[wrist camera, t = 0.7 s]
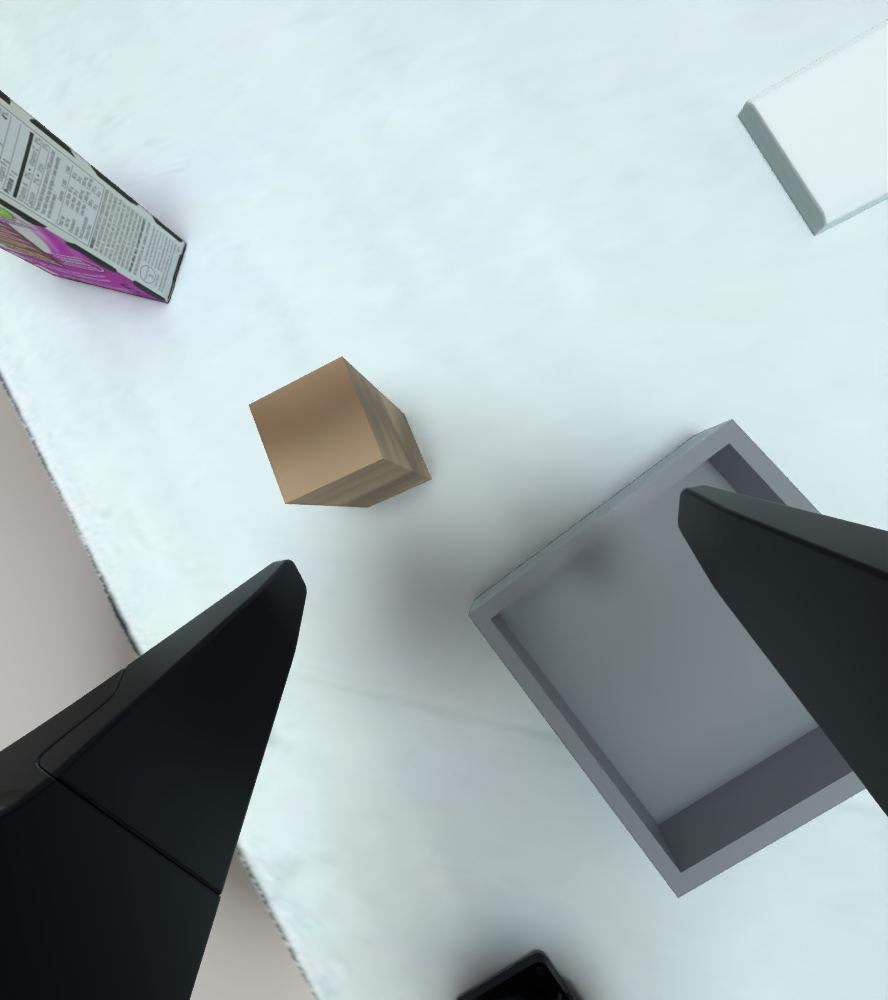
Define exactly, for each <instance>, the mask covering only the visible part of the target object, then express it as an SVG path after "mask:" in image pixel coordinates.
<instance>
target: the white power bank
mask: <svg viewBox="0 0 888 1000" xmlns="http://www.w3.org/2000/svg"><path fill="white" fill-rule="evenodd" d="M738 117H739V119H740V120H741V122H742V123H743V125H744V126H745V128H746V129H747V131H748V133H749V134H750V136H751V137H752V139H753V140H754V142H755V143H756V145H757V147H758V148H759V150H760V151H761V153H762V155H763V156H764V158H765V159H766V161H767V162H768V164H769V165H770V167H771V169H772V170H773V172H774V173H775V175H776V177H777V178H778V180H779V181H780V183H781V184H782V186H783V187H784V189H785V191H786V192H787V194H788V195H789V197H790V199H791V200H792V202H793V203H794V205H795V206H796V208H797V210H798V211H799V213H800V214H801V216H802V217H803V219H804V221H805V222H806V224H807V225H808V227H809V229H810V230H811V232H812V233H813V235H814V236H816V235H818V234H820V233H822V232H824V231H826V230H828V229H829V228H831V227H833V226H835V225H837V224H839V223H841V222H843V221H845V220H847V219H849V218H851V217H853V216H855V215H856V214H858V213H860V212H862V211H864V210H866V209H868V208H870V207H872V206H874V205H876V204H878V203H879V202H881V201H883V200H885V199H887V198H888V19H887V20H885V21H884V22H882V23H880V24H879V25H877V26H875V27H873V28H872V29H870V30H868V31H867V32H865V33H863V34H861V35H860V36H858V37H856V38H854V39H853V40H851V41H849V42H848V43H846V44H844V45H842V46H841V47H839V48H837V49H835V50H834V51H832V52H830V53H828V54H827V55H825V56H823V57H821V58H820V59H818V60H816V61H814V62H813V63H811V64H809V65H808V66H806V67H804V68H802V69H801V70H799V71H797V72H796V73H794V74H792V75H790V76H789V77H787V78H785V79H784V80H782V81H780V82H779V83H777V84H775V85H773V86H772V87H770V88H768V89H767V90H765V91H763V92H761V93H760V94H758V95H756V96H755V97H753V98H751V99H750V100H748V101H747V102H746V103H745V105H744V107H743V109H742V110H741V112H740V114H739V115H738Z"/></svg>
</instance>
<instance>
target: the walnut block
mask: <svg viewBox="0 0 888 1000" xmlns="http://www.w3.org/2000/svg"><path fill="white" fill-rule="evenodd" d="M249 407H250V410H251V413H252V415H253V418H254V421H255V423H256V426H257V429H258V431H259V434H260V437H261V440H262V442H263V445H264V448H265V450H266V453H267V456H268V458H269V461H270V464H271V467H272V469H273V472H274V475H275V477H276V480H277V483H278V485H279V488H280V491H281V494H282V496H283V499H284V502H285V504H301V505H324V506H348V507H370V506H372V505H374V504H377V503H379V502H381V501H383V500H386V499H388V498H390V497H392V496H395V495H397V494H399V493H401V492H404V491H406V490H408V489H410V488H412V487H415V486H417V485H419V484H421V483H424V482H426V481H428V480H430V479H431V477H430V475H429V472H428V470H427V467H426V465H425V463H424V460H423V458H422V455H421V453H420V451H419V448H418V446H417V443H416V441H415V439H414V436H413V434H412V431H411V429H410V427H409V424H408V422H407V419H406V417H405V415H404V414H403V413H402V412H401V411H400V410H399V409H398V408H397V407H396V406H395V405H394V404H393V403H392V402H391V401H389V400H388V399H387V398H386V397H385V396H384V395H383V394H382V393H381V392H380V391H379V390H378V389H377V388H375V387H374V386H373V385H372V384H371V383H370V382H369V381H368V380H367V379H366V378H365V377H364V376H363V375H361V374H360V373H359V372H358V371H357V370H356V369H355V368H354V367H353V366H352V365H351V364H350V363H349V362H347V361H346V360H345V359H344V358H343V357H340V358H338V359H336V360H334V361H332V362H330V363H328V364H326V365H325V366H323V367H321V368H319V369H317V370H315V371H313V372H311V373H309V374H307V375H305V376H303V377H301V378H300V379H298V380H296V381H294V382H292V383H290V384H288V385H286V386H284V387H282V388H280V389H278V390H276V391H274V392H273V393H271V394H269V395H267V396H265V397H263V398H261V399H259V400H257V401H255V402H253V403H251V404H249Z"/></svg>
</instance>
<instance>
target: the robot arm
mask: <svg viewBox="0 0 888 1000" xmlns="http://www.w3.org/2000/svg"><path fill="white" fill-rule="evenodd" d="M678 527H679V529H680V532H681V533H682V535H683V537H684V538H685V540H686V542H687V543H688V545H689V547H690V549H691V550H692V552H693V554H694V555H695V557H696V559H697V560H698V562H699V564H700V565H701V567H702V569H703V571H704V572H705V574H706V576H707V577H708V579H709V580H710V582H711V584H712V585H713V587H714V588H715V590H716V591H717V592H718V594H719V595H720V597H721V598H722V599H723V601H724V602H725V603H726V605H727V606H728V607H729V609H730V610H731V611H732V612H733V614H734V615H735V616H736V618H737V619H738V620H739V622H740V623H741V624H742V626H743V627H744V628H745V630H746V631H747V632H748V634H749V635H750V636H751V637H752V639H753V640H754V641H755V643H756V644H757V645H758V647H759V648H760V649H761V651H762V652H763V653H764V655H765V656H766V657H767V659H768V660H769V661H770V662H771V664H772V665H773V666H774V668H775V669H776V670H777V672H778V673H779V674H780V676H781V677H782V678H783V680H784V681H785V682H786V684H787V685H788V686H789V687H790V689H791V690H792V691H793V693H794V694H795V695H796V697H797V698H798V699H799V701H800V702H801V703H802V705H803V706H804V707H805V709H806V710H807V711H808V712H809V714H810V715H811V716H812V718H813V719H814V720H815V722H816V723H817V724H818V726H819V727H820V728H821V730H822V731H823V732H824V734H825V735H826V736H827V737H828V739H829V740H830V741H831V743H832V744H833V745H834V747H835V748H836V749H837V751H838V752H839V753H840V755H841V756H842V757H843V759H844V760H845V761H846V762H847V764H848V765H849V766H850V768H851V769H852V770H853V772H854V773H855V774H856V776H857V777H858V778H859V780H860V781H861V782H862V784H863V785H864V786H865V787H866V789H867V790H868V791H869V793H870V794H871V795H872V797H873V798H874V799H875V801H876V802H877V803H878V805H879V806H880V807H881V809H882V810H883V811H884V812H885V814H886V815H887V816H888V531H885V530H881V529H877V528H873V527H869V526H865V525H861V524H857V523H853V522H849V521H845V520H842V519H838V518H834V517H830V516H826V515H822V514H818V513H814V512H810V511H806V510H802V509H798V508H794V507H790V506H786V505H783V504H779V503H775V502H771V501H767V500H763V499H759V498H755V497H751V496H747V495H743V494H739V493H735V492H731V491H727V490H723V489H720V488H716V487H712V486H708V485H697V486H691V487H686V488H684V489H683V490H682V491H681V493H680V498H679V510H678ZM306 594H307V590H306V585H305V583H304V581H303V579H302V577H301V575H300V573H299V571H298V569H297V567H296V566H295V564H294V562H293V561H291V560H282V561H276V562H273V563H271V564H270V565H269V566H267V567H266V568H264V569H263V570H262V571H260V572H259V573H257V574H256V575H254V576H253V577H252V578H250V579H249V580H247V581H246V582H245V583H243V584H242V585H240V586H239V587H237V588H236V589H235V590H233V591H232V592H230V593H229V594H228V595H226V596H225V597H223V598H222V599H221V600H219V601H218V602H216V603H215V604H213V605H212V606H211V607H209V608H208V609H206V610H205V611H204V612H202V613H201V614H199V615H198V616H197V617H195V618H194V619H192V620H191V621H189V622H188V623H187V624H185V625H184V626H182V627H181V628H180V629H178V630H177V631H175V632H174V633H173V634H171V635H170V636H168V637H167V638H165V639H164V640H163V641H161V642H160V643H158V644H157V645H156V646H154V647H153V648H151V649H150V650H149V651H147V652H146V653H144V654H143V655H141V656H140V657H139V658H137V659H136V660H134V661H133V662H132V663H130V664H129V665H128V666H127V667H126V668H124V669H122V670H120V671H119V672H117V673H116V674H114V675H113V676H112V677H110V678H109V679H108V680H106V681H105V682H103V683H102V684H100V685H99V686H97V687H96V688H95V689H93V690H92V691H90V692H89V693H87V694H86V695H84V696H83V697H82V698H80V699H79V700H77V701H76V702H74V703H73V704H72V705H70V706H69V707H67V708H65V709H64V710H63V711H61V712H59V713H58V714H56V715H55V716H54V717H52V718H50V719H49V720H48V721H46V722H44V723H43V724H42V725H40V726H38V727H37V728H36V729H34V730H33V731H31V732H29V733H28V734H26V735H25V736H23V737H22V738H20V739H19V740H17V741H16V742H14V743H13V744H11V745H10V746H8V747H6V748H5V749H3V750H2V751H0V1000H190V997H191V994H192V990H193V987H194V983H195V980H196V977H197V974H198V970H199V967H200V964H201V961H202V957H203V954H204V950H205V947H206V944H207V941H208V938H209V934H210V931H211V928H212V925H213V921H214V918H215V915H216V911H217V908H218V905H219V902H220V898H221V896H220V894H221V893H222V891H223V887H224V884H225V881H226V878H227V874H228V871H229V868H230V864H231V861H232V858H233V855H234V852H235V848H236V845H237V842H238V838H239V835H240V832H241V829H242V825H243V822H244V819H245V815H246V812H247V809H248V806H249V802H250V799H251V796H252V792H253V789H254V786H255V783H256V779H257V776H258V773H259V769H260V766H261V763H262V760H263V756H264V753H265V750H266V746H267V743H268V740H269V737H270V733H271V730H272V727H273V723H274V720H275V717H276V714H277V710H278V707H279V704H280V701H281V697H282V694H283V691H284V687H285V684H286V681H287V678H288V674H289V671H290V668H291V664H292V661H293V657H294V654H295V650H296V646H297V641H298V636H299V631H300V626H301V620H302V615H303V610H304V605H305V600H306ZM539 966H540V967H542V968H539ZM459 1000H577V999H576V998H575V996H574V995H573V994H571V993H570V992H569V990H568V989H567V987H566V986H565V985H564V983H563V982H562V980H561V979H560V977H559V976H558V974H557V973H556V971H555V970H554V968H553V967H552V965H551V964H550V962H549V961H548V959H547V958H546V957H545V956H544V955H542V954H534V955H533V956H531V957H529V958H527V959H526V960H524V961H522V962H521V963H519V964H517V965H516V966H514V967H512V968H511V969H509V970H507V971H506V972H504V973H502V974H501V975H499V976H497V977H496V978H494V979H492V980H491V981H489V982H487V983H485V984H484V985H482V986H480V987H479V988H477V989H475V990H474V991H472V992H470V993H469V994H467V995H465V996H464V997H462V998H460V999H459Z"/></svg>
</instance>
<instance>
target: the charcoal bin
mask: <svg viewBox="0 0 888 1000" xmlns="http://www.w3.org/2000/svg"><path fill="white" fill-rule="evenodd" d="M697 485H708V486H712V487H716V488H720V489H723V490H727V491H731V492H735V493H739V494H743V495H747V496H751V497H755V498H759V499H763V500H767V501H771V502H775V503H779V504H783V505H786V506H790V507H794V508H798V509H802V510H806V511H810V512H814V513H818V514H821V513H820V512H819V511H818V510H817V509H816V508H815V507H814V506H813V505H812V504H811V503H810V502H809V500H808V499H807V498H806V497H805V496H804V495H803V494H802V493H801V492H800V491H799V490H798V489H797V488H796V487H795V486H794V484H793V483H792V482H791V481H790V480H789V479H788V478H787V477H786V476H785V475H784V474H783V473H782V472H781V471H780V470H779V468H778V467H777V466H776V465H775V464H774V463H773V462H772V461H771V460H770V459H769V458H768V457H767V456H766V455H765V453H764V452H763V451H762V450H761V449H760V448H759V447H758V446H757V445H756V444H755V443H754V442H753V441H752V440H751V439H750V437H749V436H748V435H747V434H746V433H745V432H744V431H743V430H742V429H741V428H740V427H739V426H738V425H737V424H736V423H735V421H734V420H733V419H731V420H729V421H726V422H724V423H722V424H719V425H717V426H715V427H712V428H710V429H707V430H705V431H703V432H700V433H698V434H696V435H694V436H693V437H692V438H690V439H689V440H688V441H686V442H685V443H684V444H682V445H681V446H680V447H678V448H677V449H676V450H674V451H673V452H672V453H670V454H669V455H668V456H666V457H665V458H664V459H662V460H661V461H660V462H658V463H657V464H656V465H654V466H653V467H652V468H650V469H649V470H648V471H646V472H645V473H644V474H642V475H641V476H640V477H638V478H637V479H636V480H634V481H633V482H632V483H630V484H629V485H628V486H626V487H625V488H624V489H622V490H621V491H620V492H618V493H617V494H616V495H614V496H613V497H612V498H610V499H609V500H608V501H606V502H605V503H604V504H602V505H601V506H599V507H598V508H597V509H595V510H594V511H593V512H591V513H590V514H589V515H587V516H586V517H585V518H583V519H582V520H581V521H579V522H578V523H577V524H575V525H574V526H573V527H571V528H570V529H569V530H567V531H566V532H565V533H563V534H562V535H561V536H559V537H558V538H557V539H555V540H554V541H553V542H551V543H550V544H549V545H547V546H546V547H545V548H543V549H542V550H541V551H539V552H538V553H537V554H535V555H534V556H533V557H531V558H530V559H529V560H527V561H526V562H525V563H523V564H522V565H521V566H519V567H518V568H517V569H515V570H514V571H513V572H511V573H510V574H509V575H507V576H506V577H505V578H503V579H502V580H501V581H499V582H498V583H497V584H495V585H494V586H492V587H491V588H490V589H488V590H487V591H486V592H484V593H483V594H482V595H480V596H479V597H478V598H476V599H475V600H474V603H473V605H472V607H471V610H470V612H469V614H468V616H469V617H470V618H471V620H472V621H473V622H474V624H475V625H476V627H477V628H478V629H479V631H480V632H481V633H482V635H483V636H484V637H485V639H486V640H487V641H488V643H489V644H490V645H491V647H492V648H493V649H494V651H495V652H496V653H497V655H498V656H499V657H500V659H501V660H502V662H503V663H504V664H505V666H506V667H507V668H508V670H509V671H510V672H511V674H512V675H513V676H514V678H515V679H516V680H517V682H518V683H519V684H520V686H521V687H522V688H523V690H524V691H525V693H526V694H527V695H528V697H529V698H530V699H531V701H532V702H533V703H534V705H535V706H536V707H537V709H538V710H539V711H540V713H541V714H542V715H543V717H544V718H545V719H546V721H547V722H548V723H549V725H550V726H551V728H552V729H553V730H554V732H555V733H556V734H557V736H558V737H559V738H560V740H561V741H562V742H563V744H564V745H565V746H566V748H567V749H568V750H569V752H570V753H571V754H572V756H573V757H574V758H575V760H576V761H577V763H578V764H579V765H580V767H581V768H582V769H583V771H584V772H585V773H586V775H587V776H588V777H589V779H590V780H591V781H592V783H593V784H594V785H595V787H596V788H597V789H598V791H599V792H600V793H601V795H602V796H603V798H604V799H605V800H606V802H607V803H608V804H609V806H610V807H611V808H612V810H613V811H614V812H615V814H616V815H617V816H618V818H619V819H620V820H621V822H622V823H623V824H624V826H625V827H626V829H627V830H628V831H629V833H630V834H631V835H632V837H633V838H634V839H635V841H636V842H637V843H638V845H639V846H640V847H641V849H642V850H643V851H644V853H645V854H646V855H647V857H648V858H649V859H650V861H651V862H652V864H653V865H654V866H655V868H656V869H657V870H658V872H659V873H660V874H661V876H662V877H663V878H664V880H665V881H666V882H667V884H668V885H669V886H670V888H671V889H672V890H673V892H674V893H675V894H676V896H677V897H678V898H679V897H681V896H682V895H684V894H686V893H688V892H689V891H691V890H693V889H694V888H696V887H698V886H699V885H701V884H703V883H705V882H706V881H708V880H710V879H711V878H713V877H715V876H717V875H718V874H720V873H722V872H723V871H725V870H727V869H729V868H730V867H732V866H734V865H735V864H737V863H739V862H741V861H742V860H744V859H746V858H747V857H749V856H751V855H753V854H754V853H756V852H758V851H759V850H761V849H763V848H765V847H766V846H768V845H770V844H771V843H773V842H775V841H777V840H778V839H780V838H782V837H783V836H785V835H787V834H788V833H790V832H792V831H794V830H795V829H797V828H799V827H800V826H802V825H804V824H806V823H807V822H809V821H811V820H812V819H814V818H816V817H818V816H819V815H821V814H823V813H824V812H826V811H828V810H830V809H831V808H833V807H835V806H836V805H838V804H840V803H842V802H843V801H845V800H847V799H848V798H850V797H852V796H854V795H855V794H857V793H859V792H860V791H862V790H864V789H866V787H865V786H864V785H863V784H862V782H861V781H860V780H859V778H858V777H857V776H856V774H855V773H854V772H853V770H852V769H851V768H850V766H849V765H848V764H847V762H846V761H845V760H844V759H843V757H842V756H841V755H840V753H839V752H838V751H837V749H836V748H835V747H834V745H833V744H832V743H831V741H830V740H829V739H828V737H827V736H826V735H825V734H824V732H823V731H822V730H821V728H820V727H819V726H818V724H817V723H816V722H815V720H814V719H813V718H812V716H811V715H810V714H809V712H808V711H807V710H806V709H805V707H804V706H803V705H802V703H801V702H800V701H799V699H798V698H797V697H796V695H795V694H794V693H793V691H792V690H791V689H790V687H789V686H788V685H787V684H786V682H785V681H784V680H783V678H782V677H781V676H780V674H779V673H778V672H777V670H776V669H775V668H774V666H773V665H772V664H771V662H770V661H769V660H768V659H767V657H766V656H765V655H764V653H763V652H762V651H761V649H760V648H759V647H758V645H757V644H756V643H755V641H754V640H753V639H752V637H751V636H750V635H749V634H748V632H747V631H746V630H745V628H744V627H743V626H742V624H741V623H740V622H739V620H738V619H737V618H736V616H735V615H734V614H733V612H732V611H731V610H730V609H729V607H728V606H727V605H726V603H725V602H724V601H723V599H722V598H721V597H720V595H719V594H718V592H717V591H716V590H715V588H714V587H713V585H712V584H711V582H710V580H709V579H708V577H707V576H706V574H705V572H704V571H703V569H702V567H701V565H700V564H699V562H698V560H697V559H696V557H695V555H694V554H693V552H692V550H691V549H690V547H689V545H688V543H687V542H686V540H685V538H684V537H683V535H682V533H681V532H680V529H679V527H678V510H679V498H680V493H681V491H682V490H683V489H684V488H686V487H691V486H697Z"/></svg>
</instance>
